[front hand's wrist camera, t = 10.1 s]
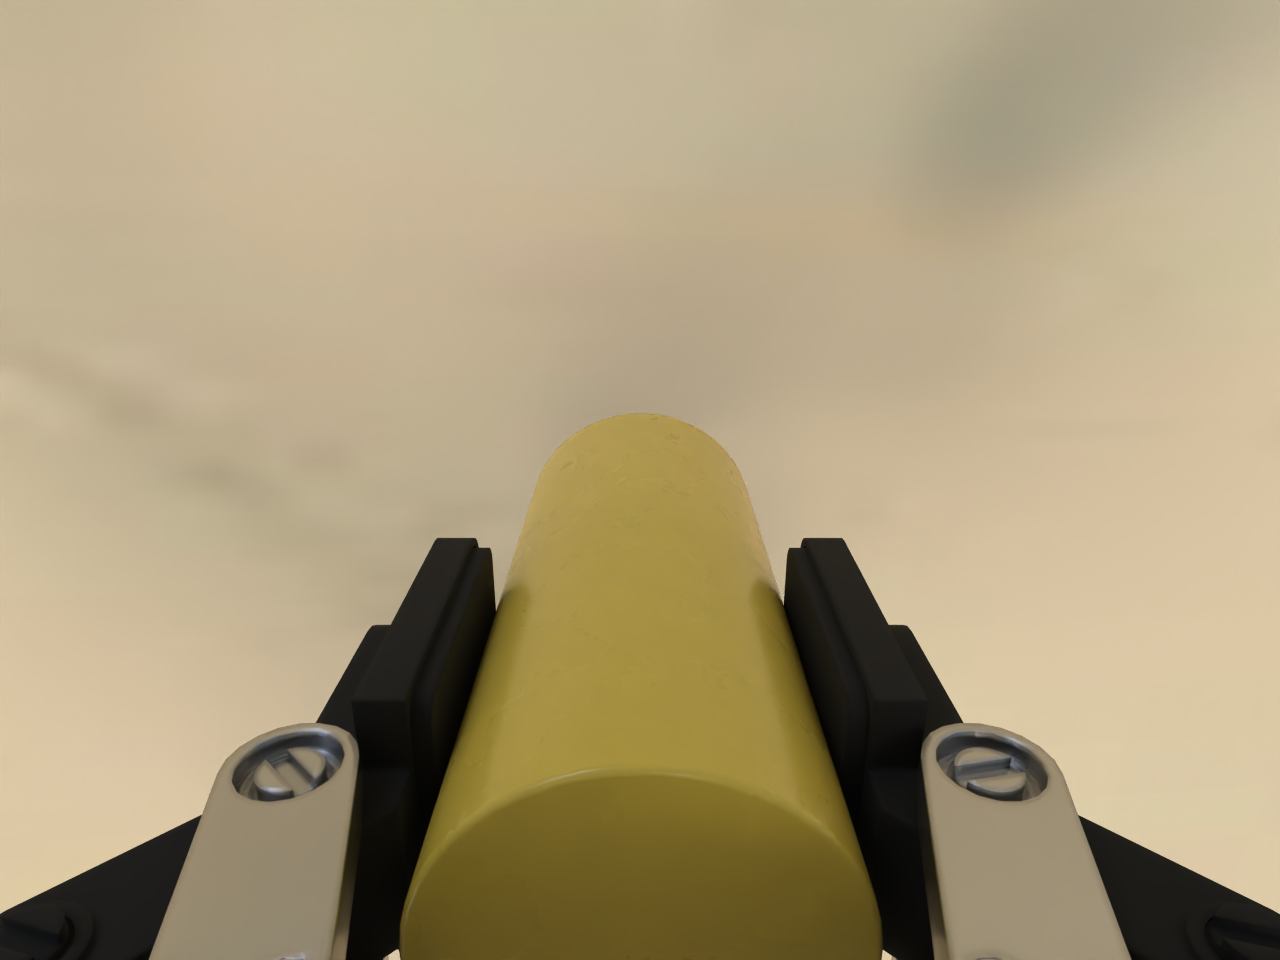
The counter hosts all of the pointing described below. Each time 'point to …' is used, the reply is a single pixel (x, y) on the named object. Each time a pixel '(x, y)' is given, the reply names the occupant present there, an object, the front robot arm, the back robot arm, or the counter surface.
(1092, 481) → the counter surface
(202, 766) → the counter surface
